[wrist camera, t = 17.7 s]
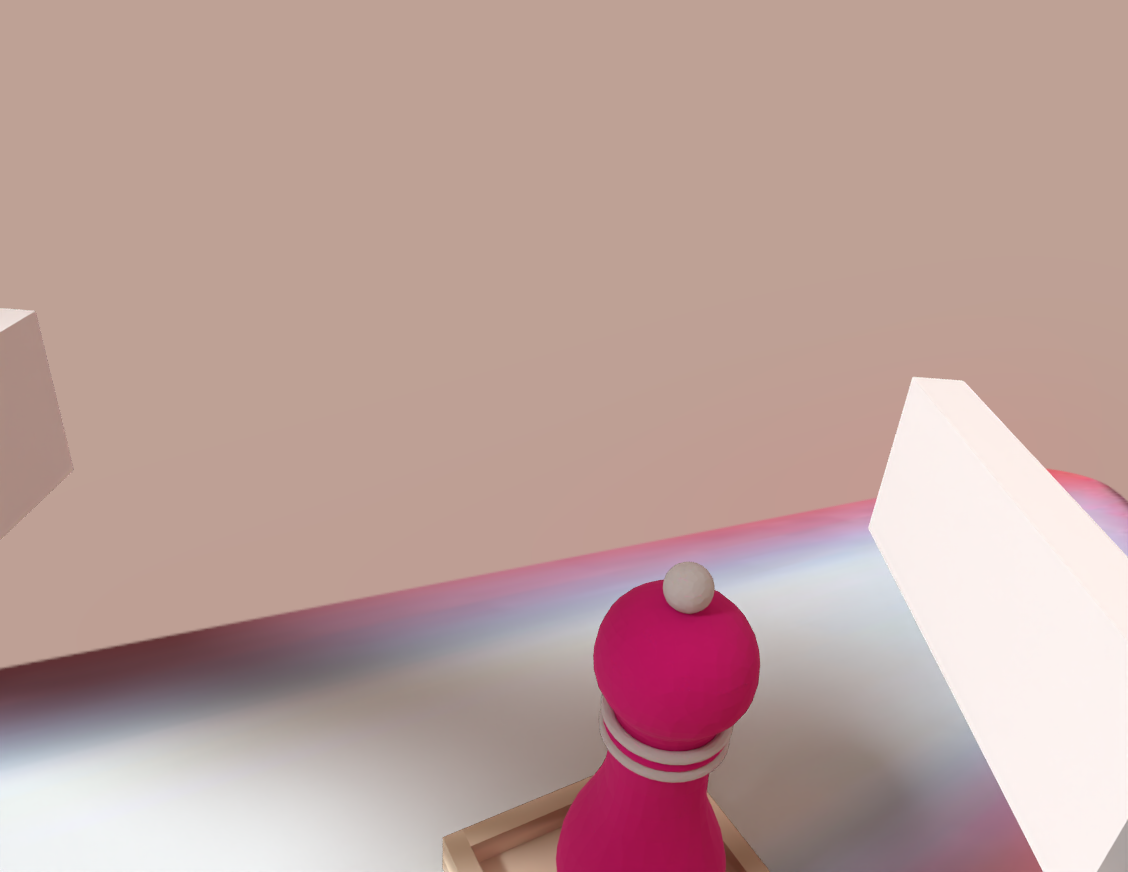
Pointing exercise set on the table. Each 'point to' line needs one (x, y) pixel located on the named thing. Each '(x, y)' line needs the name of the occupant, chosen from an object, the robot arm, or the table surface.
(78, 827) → the table surface
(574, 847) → the pepper mill
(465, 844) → the base
